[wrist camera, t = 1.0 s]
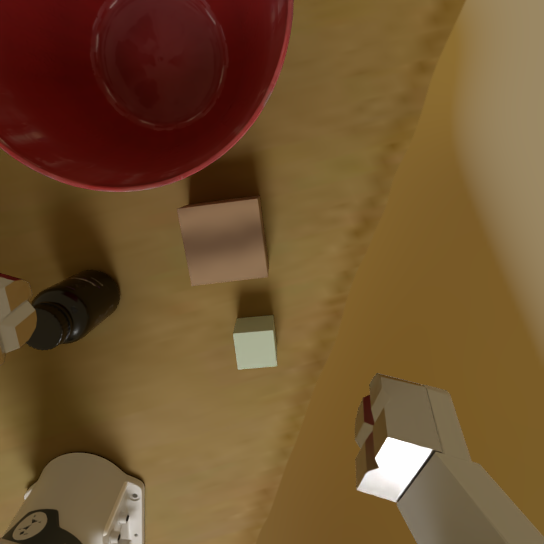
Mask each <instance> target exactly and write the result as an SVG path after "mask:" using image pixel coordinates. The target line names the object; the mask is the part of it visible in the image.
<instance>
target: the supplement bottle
mask: <svg viewBox="0 0 544 544" xmlns="http://www.w3.org/2000/svg"><path fill="white" fill-rule="evenodd" d="M119 300H120V294H119V289H118V287H117V285H116V283H115V282H114V280H113V279H112V278H111V277H109V276H108V275H107V274H105V273H103V272H100V271H96V270H87V271H83V272H80V273H78V274H76V275H74V276H72V277H70V278H68V279H65V280H63V281H61V282H59V283H57V284H55V285H53V286H51V287H49V288H47V289H45V290H43V291H42V292H40V293H39V294H38V295H37V296H36V297H35V298H34V300H33V302H32V304H31V305H32V306H33V308H34V309H35V310H36V315H37V322H36V328H35V330H34V332H33V334H32V335H31V337H30V339H29V340H28V341H27V342H26V344H28V345H29V346H31V347H33V348H36V349H38V350H48V349H52V348H54V347H56V346H58V345H59V344H68V343H73V342H76V341H78V340H80V339H81V338H83V337H84V336H85V335H86V334H88V333H89V332H90V331H91V330H93V329H94V328H95V327H96V326H97V325H99V324H100V323H101V322H102V321H104V320H105V319H106V318H107V317H108V316H110V315H111V314H112V313H113V312H114V311H115V310H116V308H117V306H118V304H119Z"/></svg>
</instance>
